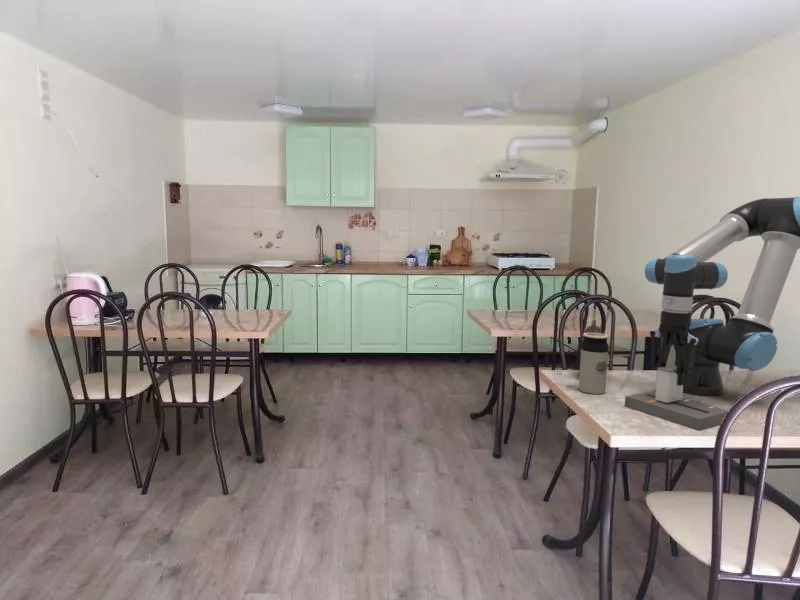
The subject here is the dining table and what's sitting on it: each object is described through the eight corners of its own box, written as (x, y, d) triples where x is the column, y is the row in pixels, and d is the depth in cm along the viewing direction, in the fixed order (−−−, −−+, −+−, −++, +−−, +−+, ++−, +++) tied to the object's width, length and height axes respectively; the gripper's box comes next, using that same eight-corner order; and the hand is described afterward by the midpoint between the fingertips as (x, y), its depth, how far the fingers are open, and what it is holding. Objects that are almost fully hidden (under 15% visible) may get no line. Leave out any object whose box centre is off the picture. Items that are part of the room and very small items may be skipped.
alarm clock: (579, 371, 199) (583, 316, 196) (600, 373, 196) (604, 317, 193) (576, 381, 185) (580, 322, 183) (599, 383, 182) (604, 324, 180)
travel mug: (574, 387, 177) (578, 332, 175) (598, 387, 178) (602, 332, 176) (585, 394, 169) (589, 337, 167) (609, 394, 170) (614, 337, 168)
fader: (654, 399, 154) (657, 367, 153) (670, 395, 158) (673, 365, 157) (666, 402, 151) (669, 370, 150) (682, 399, 155) (685, 367, 154)
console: (624, 406, 159) (625, 395, 158) (654, 399, 166) (655, 389, 166) (699, 430, 140) (700, 418, 140) (729, 422, 147) (730, 410, 147)
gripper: (640, 307, 157) (634, 388, 159) (698, 316, 143) (690, 404, 145) (656, 306, 160) (650, 385, 163) (714, 314, 146) (706, 400, 149)
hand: (669, 393), depth 154 cm, fingers closed on fader, 3 cm apart
